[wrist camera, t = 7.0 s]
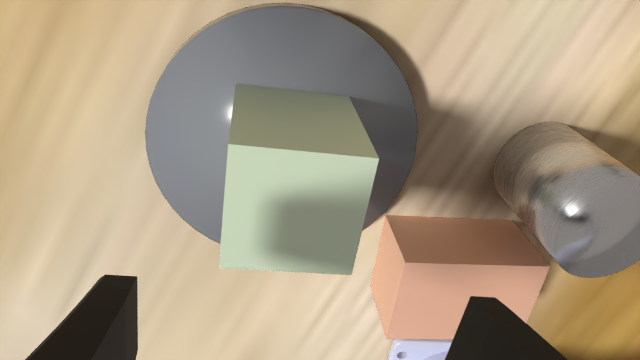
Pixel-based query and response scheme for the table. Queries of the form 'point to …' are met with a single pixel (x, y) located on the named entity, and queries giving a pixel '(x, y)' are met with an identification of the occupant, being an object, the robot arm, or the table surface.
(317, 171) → the sage block
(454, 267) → the terracotta block
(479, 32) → the table surface
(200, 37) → the coaster
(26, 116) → the table surface
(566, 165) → the grey tin
